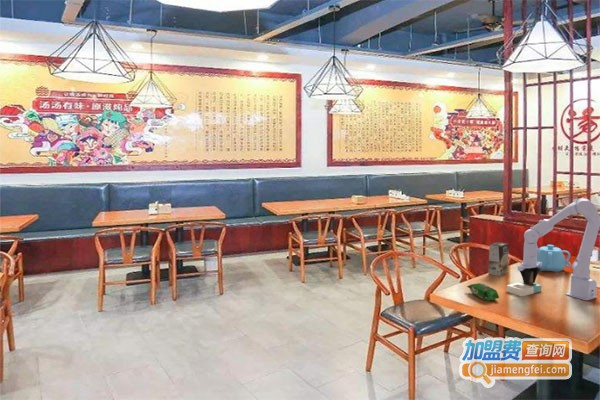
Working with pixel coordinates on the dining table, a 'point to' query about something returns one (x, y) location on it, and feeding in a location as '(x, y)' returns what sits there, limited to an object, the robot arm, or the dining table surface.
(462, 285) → the dining table surface
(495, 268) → the coffee box
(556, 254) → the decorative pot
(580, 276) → the robot arm
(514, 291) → the hole block
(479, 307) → the dining table surface
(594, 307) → the dining table surface
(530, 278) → the walnut dowel
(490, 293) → the snack package
